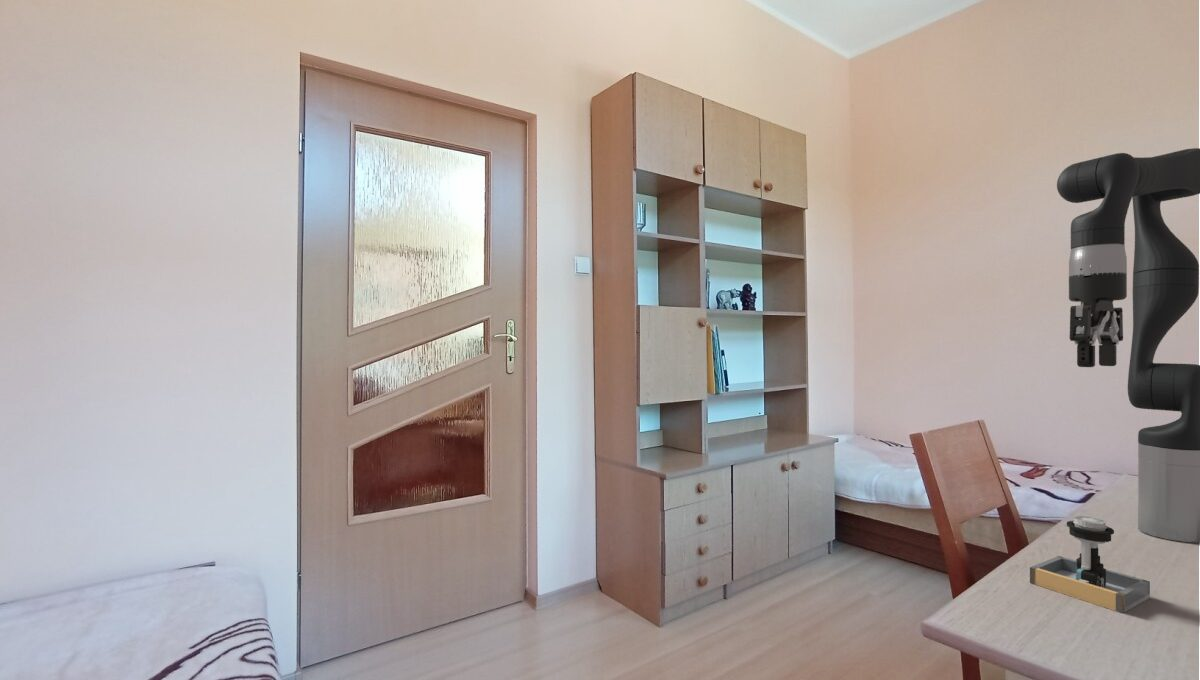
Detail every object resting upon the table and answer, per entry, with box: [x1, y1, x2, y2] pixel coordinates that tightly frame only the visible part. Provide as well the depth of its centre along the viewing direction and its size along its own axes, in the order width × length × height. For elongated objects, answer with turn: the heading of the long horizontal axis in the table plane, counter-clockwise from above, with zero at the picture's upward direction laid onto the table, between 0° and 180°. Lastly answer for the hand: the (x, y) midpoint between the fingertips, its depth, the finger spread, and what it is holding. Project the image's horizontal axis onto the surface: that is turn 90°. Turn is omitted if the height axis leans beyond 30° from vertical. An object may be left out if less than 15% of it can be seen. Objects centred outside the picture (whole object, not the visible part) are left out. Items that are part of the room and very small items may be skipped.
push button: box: [1066, 515, 1115, 588], centre depth 83 cm, size 7×5×10 cm
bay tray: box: [1029, 555, 1151, 614], centre depth 84 cm, size 10×11×2 cm
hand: (1097, 366), depth 97 cm, fingers open, 8 cm apart
